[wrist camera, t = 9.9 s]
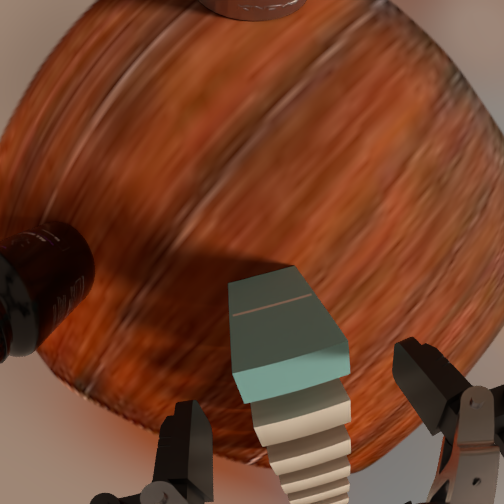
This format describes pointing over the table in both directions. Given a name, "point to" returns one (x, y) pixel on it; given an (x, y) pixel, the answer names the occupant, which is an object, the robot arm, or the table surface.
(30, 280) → the supplement bottle
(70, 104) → the table surface
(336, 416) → the domino
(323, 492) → the domino
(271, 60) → the table surface
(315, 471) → the domino
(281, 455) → the domino
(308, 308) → the domino
